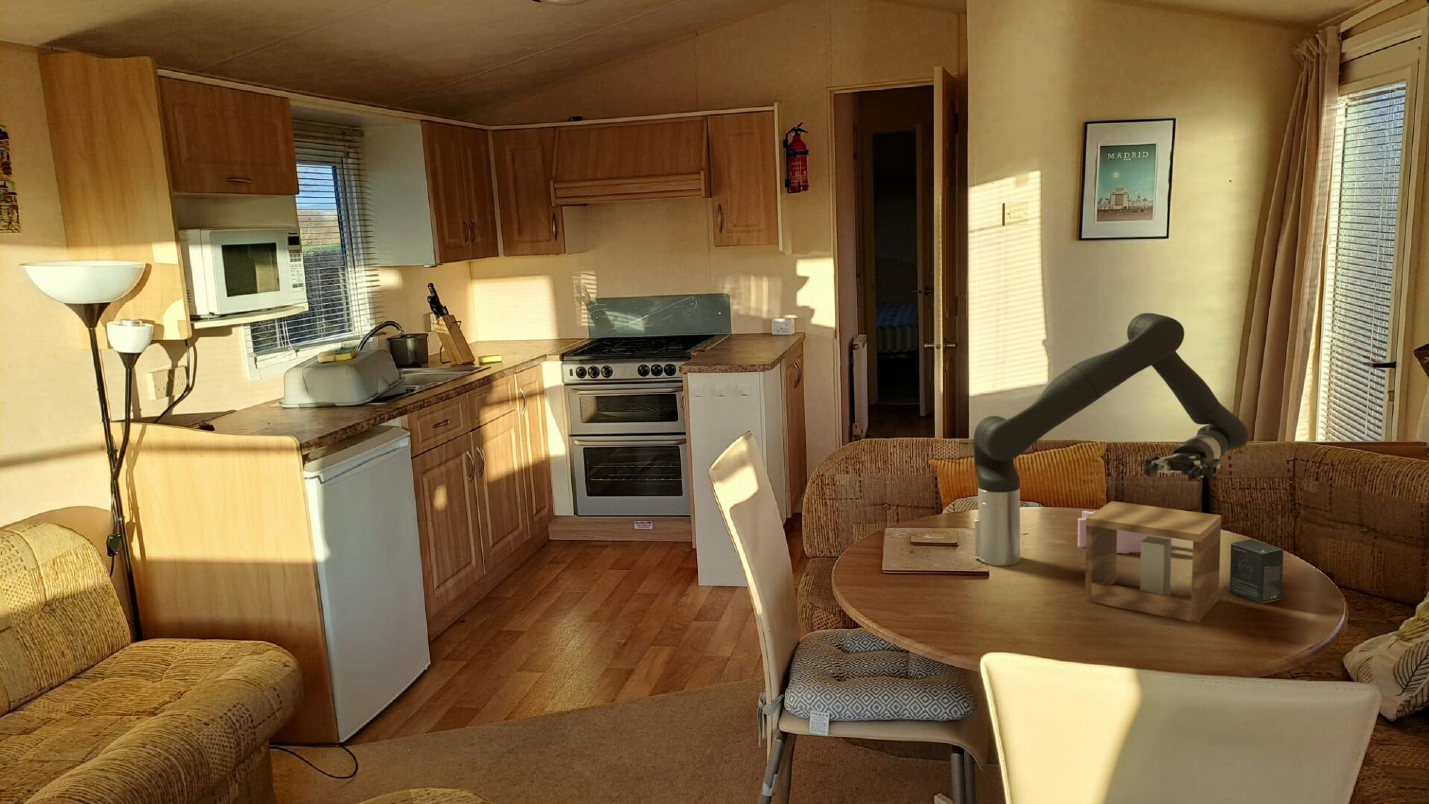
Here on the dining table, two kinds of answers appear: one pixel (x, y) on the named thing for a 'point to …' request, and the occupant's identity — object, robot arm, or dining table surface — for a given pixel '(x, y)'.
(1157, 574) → the block
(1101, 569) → the shelf
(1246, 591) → the box
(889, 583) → the dining table surface
